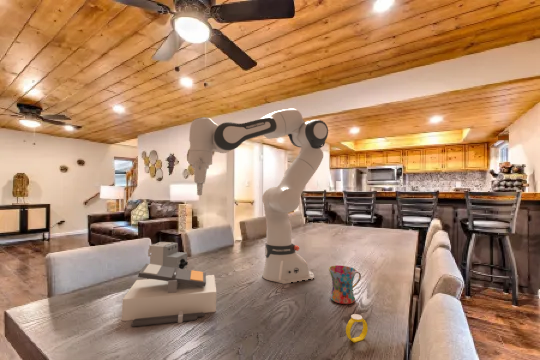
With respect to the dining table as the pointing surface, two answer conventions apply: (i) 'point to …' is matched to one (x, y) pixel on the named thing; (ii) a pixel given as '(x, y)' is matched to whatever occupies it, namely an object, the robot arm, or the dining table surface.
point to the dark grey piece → (167, 319)
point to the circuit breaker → (167, 255)
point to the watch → (348, 328)
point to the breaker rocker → (173, 274)
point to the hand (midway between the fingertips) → (199, 195)
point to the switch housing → (168, 298)
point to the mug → (343, 284)
